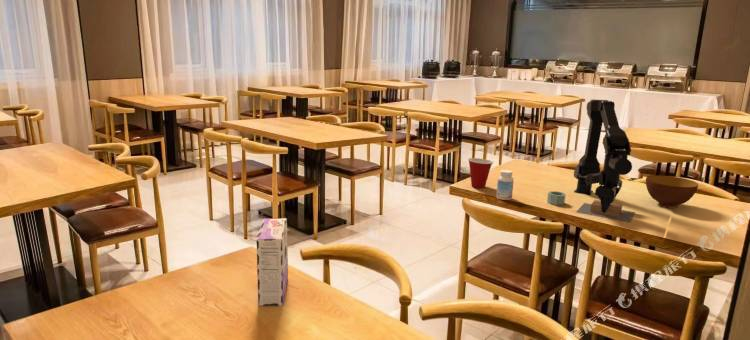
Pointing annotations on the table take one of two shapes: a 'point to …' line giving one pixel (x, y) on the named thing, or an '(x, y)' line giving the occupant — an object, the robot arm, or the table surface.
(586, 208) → the mat
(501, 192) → the pill bottle
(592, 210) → the lid
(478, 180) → the plastic cup
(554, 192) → the ramekin
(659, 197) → the bowl
